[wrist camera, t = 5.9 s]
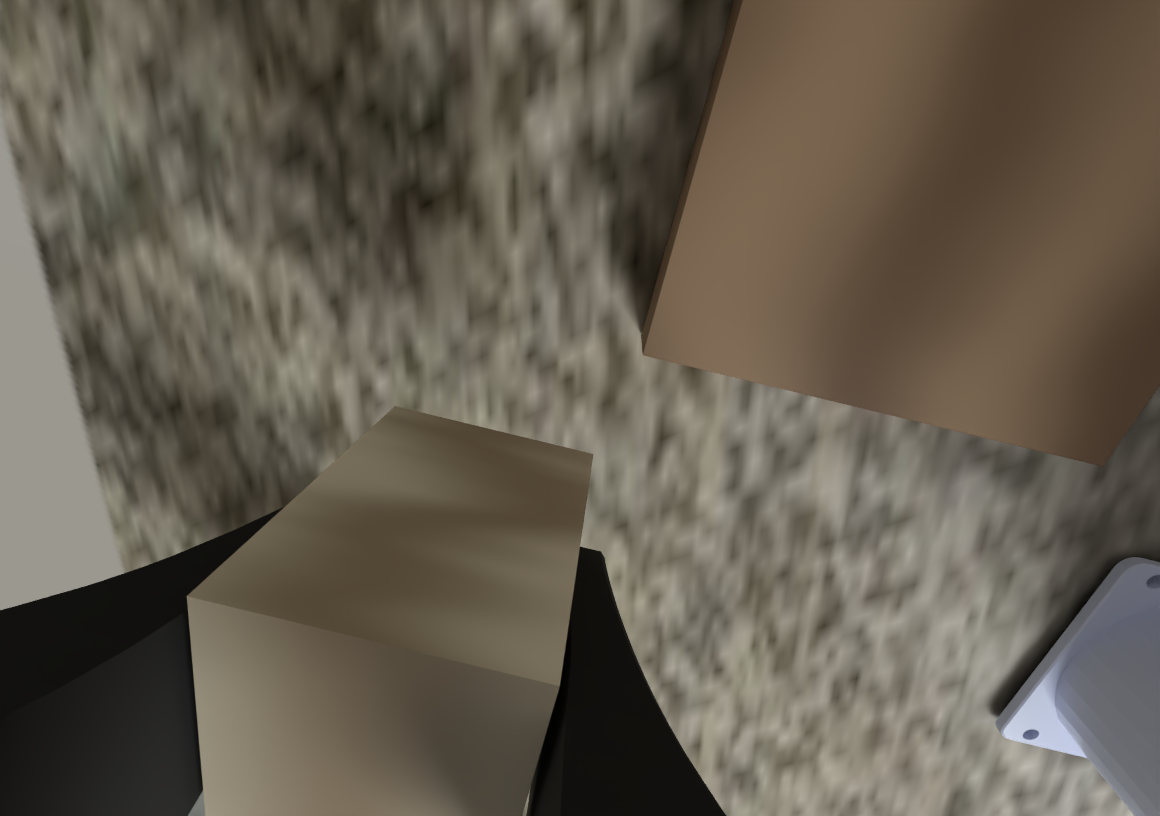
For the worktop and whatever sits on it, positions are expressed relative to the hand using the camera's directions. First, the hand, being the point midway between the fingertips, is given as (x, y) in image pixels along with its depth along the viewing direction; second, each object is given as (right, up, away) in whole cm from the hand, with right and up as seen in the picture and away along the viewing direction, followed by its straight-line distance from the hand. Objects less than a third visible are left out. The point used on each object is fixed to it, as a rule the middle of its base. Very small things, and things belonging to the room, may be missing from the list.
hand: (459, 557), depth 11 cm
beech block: (0, +1, +2) cm, 2 cm away
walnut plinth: (+11, +9, +2) cm, 15 cm away
